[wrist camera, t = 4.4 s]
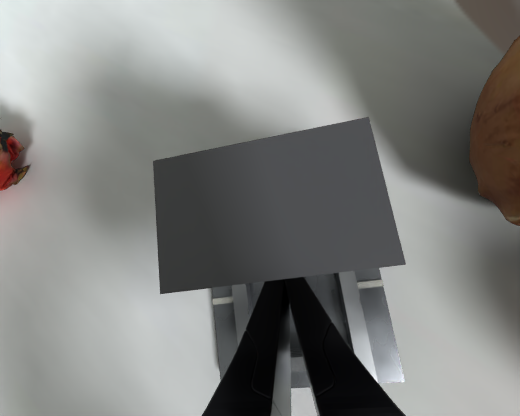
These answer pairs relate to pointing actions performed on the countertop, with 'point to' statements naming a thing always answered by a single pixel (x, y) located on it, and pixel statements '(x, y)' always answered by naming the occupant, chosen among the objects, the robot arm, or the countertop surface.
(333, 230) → the plate
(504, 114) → the butternut squash
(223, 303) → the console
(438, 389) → the countertop surface
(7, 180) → the dragon fruit
